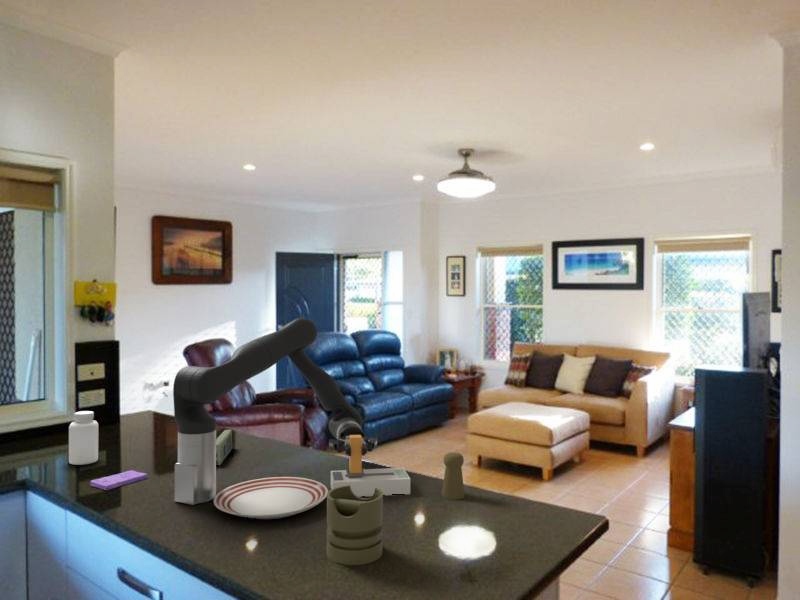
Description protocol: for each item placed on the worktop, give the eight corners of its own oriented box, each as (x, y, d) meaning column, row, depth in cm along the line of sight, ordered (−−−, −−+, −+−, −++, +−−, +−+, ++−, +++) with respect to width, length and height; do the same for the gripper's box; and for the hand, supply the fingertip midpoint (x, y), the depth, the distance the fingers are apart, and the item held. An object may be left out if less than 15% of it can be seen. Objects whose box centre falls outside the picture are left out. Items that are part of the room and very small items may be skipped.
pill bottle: (103, 458, 190) (103, 410, 190) (88, 466, 182) (88, 415, 182) (79, 457, 191) (79, 409, 190) (62, 465, 183) (62, 414, 182)
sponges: (90, 487, 164) (90, 480, 164) (132, 475, 175) (132, 469, 175) (105, 492, 161) (105, 485, 161) (147, 480, 172) (147, 473, 171)
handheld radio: (233, 449, 203) (217, 471, 178) (223, 449, 203) (206, 472, 178) (233, 429, 203) (216, 449, 178) (222, 429, 203) (205, 449, 178)
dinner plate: (212, 533, 134) (212, 517, 134) (214, 492, 161) (214, 479, 161) (336, 521, 142) (336, 507, 142) (319, 484, 168) (319, 472, 168)
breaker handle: (347, 476, 160) (348, 438, 160) (346, 471, 164) (346, 434, 164) (364, 476, 161) (364, 438, 161) (362, 471, 165) (362, 434, 165)
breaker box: (333, 498, 157) (333, 482, 157) (330, 485, 167) (330, 470, 167) (410, 494, 160) (410, 478, 160) (403, 482, 170) (403, 467, 170)
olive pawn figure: (463, 500, 156) (464, 457, 156) (440, 498, 157) (440, 455, 157) (465, 492, 162) (466, 451, 162) (443, 490, 163) (443, 449, 163)
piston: (339, 482, 132) (389, 487, 129) (338, 538, 132) (389, 544, 129) (318, 500, 121) (372, 506, 118) (317, 560, 121) (372, 568, 118)
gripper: (325, 423, 175) (329, 438, 158) (374, 422, 178) (383, 436, 161) (325, 449, 175) (329, 467, 158) (374, 448, 178) (383, 465, 161)
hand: (356, 451), depth 160 cm, fingers closed on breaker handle, 3 cm apart
